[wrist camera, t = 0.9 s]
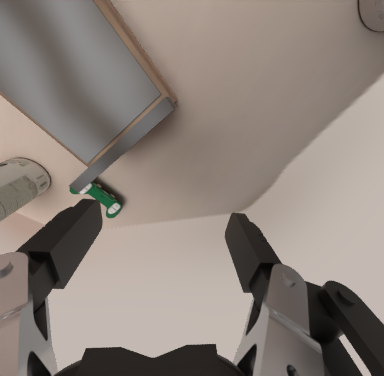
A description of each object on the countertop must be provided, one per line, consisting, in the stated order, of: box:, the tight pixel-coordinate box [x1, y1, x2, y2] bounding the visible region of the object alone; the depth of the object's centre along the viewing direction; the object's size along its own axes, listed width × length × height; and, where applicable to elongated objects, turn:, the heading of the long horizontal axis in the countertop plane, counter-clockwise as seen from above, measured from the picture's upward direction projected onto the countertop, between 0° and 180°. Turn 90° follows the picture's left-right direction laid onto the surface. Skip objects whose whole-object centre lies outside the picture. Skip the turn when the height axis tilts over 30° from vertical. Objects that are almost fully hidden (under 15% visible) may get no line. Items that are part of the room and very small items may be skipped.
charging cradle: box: [0, 0, 178, 193], centre depth 15 cm, size 12×14×12 cm
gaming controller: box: [69, 182, 122, 218], centre depth 28 cm, size 9×4×6 cm
